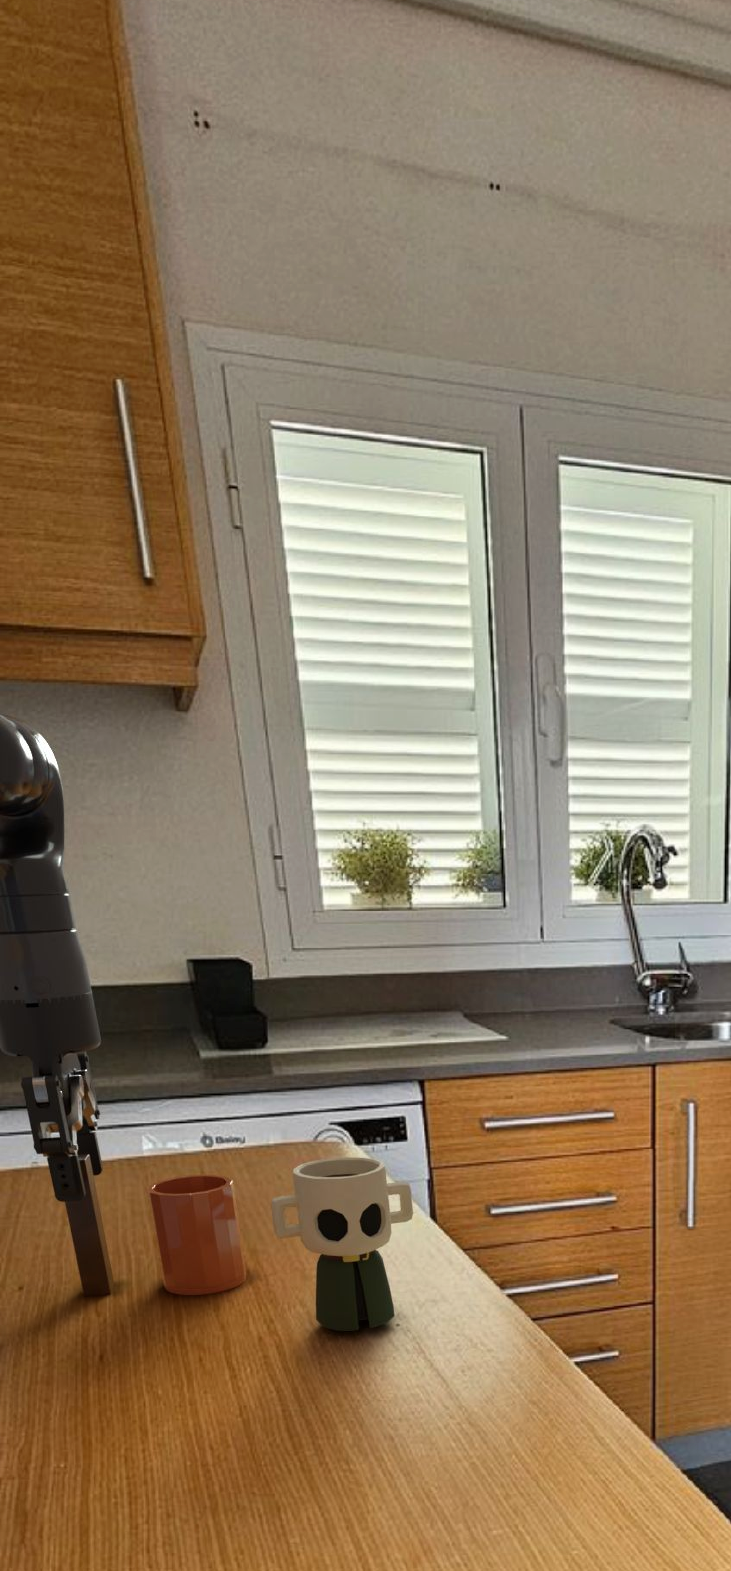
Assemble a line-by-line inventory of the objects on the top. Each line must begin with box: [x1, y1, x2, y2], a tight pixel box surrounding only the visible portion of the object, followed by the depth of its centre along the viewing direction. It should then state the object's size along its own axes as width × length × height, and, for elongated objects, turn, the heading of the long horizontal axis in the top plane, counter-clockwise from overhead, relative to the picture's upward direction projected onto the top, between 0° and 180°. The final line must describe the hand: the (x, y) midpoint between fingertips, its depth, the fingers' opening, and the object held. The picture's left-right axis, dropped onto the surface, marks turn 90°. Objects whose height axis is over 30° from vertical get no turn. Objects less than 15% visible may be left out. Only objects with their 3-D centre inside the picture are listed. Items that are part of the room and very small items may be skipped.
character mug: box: [270, 1156, 414, 1332], centre depth 95 cm, size 11×7×13 cm, turn 115°
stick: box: [64, 1154, 116, 1297], centre depth 103 cm, size 2×2×12 cm
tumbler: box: [146, 1174, 247, 1296], centre depth 106 cm, size 7×7×9 cm
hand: (81, 1187), depth 102 cm, fingers open, 8 cm apart
